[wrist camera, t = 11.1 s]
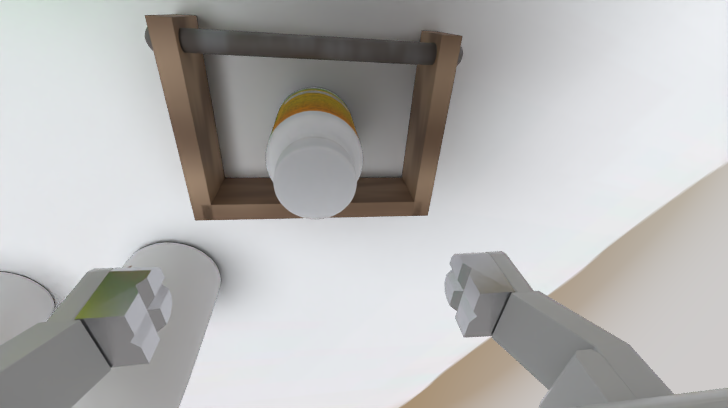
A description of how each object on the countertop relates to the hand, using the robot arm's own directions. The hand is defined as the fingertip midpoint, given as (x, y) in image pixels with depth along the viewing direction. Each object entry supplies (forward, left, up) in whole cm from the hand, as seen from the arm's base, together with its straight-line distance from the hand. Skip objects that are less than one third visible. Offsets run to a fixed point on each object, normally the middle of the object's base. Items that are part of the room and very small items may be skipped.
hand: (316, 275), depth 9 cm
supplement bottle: (+1, 0, -17) cm, 17 cm away
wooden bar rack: (0, 0, -16) cm, 16 cm away
